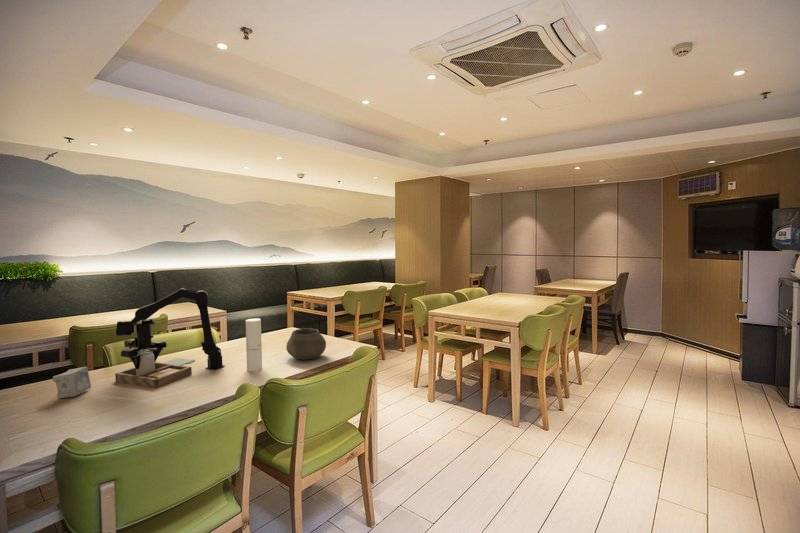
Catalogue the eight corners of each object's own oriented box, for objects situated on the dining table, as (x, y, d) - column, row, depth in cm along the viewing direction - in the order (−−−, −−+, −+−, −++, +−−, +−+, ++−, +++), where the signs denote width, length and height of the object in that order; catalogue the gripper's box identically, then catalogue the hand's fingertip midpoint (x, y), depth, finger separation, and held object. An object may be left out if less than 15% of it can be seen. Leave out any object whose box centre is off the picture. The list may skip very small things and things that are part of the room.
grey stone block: (71, 390, 165) (70, 366, 165) (92, 389, 166) (90, 366, 166) (53, 399, 156) (51, 374, 155) (75, 399, 156) (73, 374, 156)
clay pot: (332, 359, 209) (332, 332, 208) (294, 366, 197) (293, 337, 196) (317, 350, 227) (316, 325, 226) (281, 356, 215) (280, 329, 214)
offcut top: (180, 373, 181) (180, 370, 181) (159, 380, 171) (159, 377, 171) (169, 371, 183) (169, 368, 183) (148, 378, 174) (148, 375, 174)
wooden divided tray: (191, 375, 184) (191, 366, 184) (156, 388, 167) (155, 379, 167) (153, 369, 192) (153, 361, 192) (115, 382, 175) (115, 373, 175)
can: (145, 380, 177) (144, 354, 176) (132, 379, 179) (131, 353, 178) (159, 374, 184) (158, 350, 184) (145, 373, 186) (144, 349, 185)
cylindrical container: (265, 367, 195) (264, 319, 193) (255, 372, 188) (254, 321, 187) (253, 366, 197) (252, 318, 196) (243, 370, 191) (242, 320, 189)
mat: (194, 361, 205) (194, 360, 205) (174, 368, 194) (174, 367, 194) (177, 359, 209) (177, 357, 209) (157, 365, 198) (157, 364, 198)
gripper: (150, 328, 192) (151, 359, 193) (111, 337, 174) (113, 371, 175) (166, 330, 188) (168, 361, 189) (129, 339, 170) (130, 373, 171)
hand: (145, 366), depth 181 cm, fingers closed on can, 7 cm apart
